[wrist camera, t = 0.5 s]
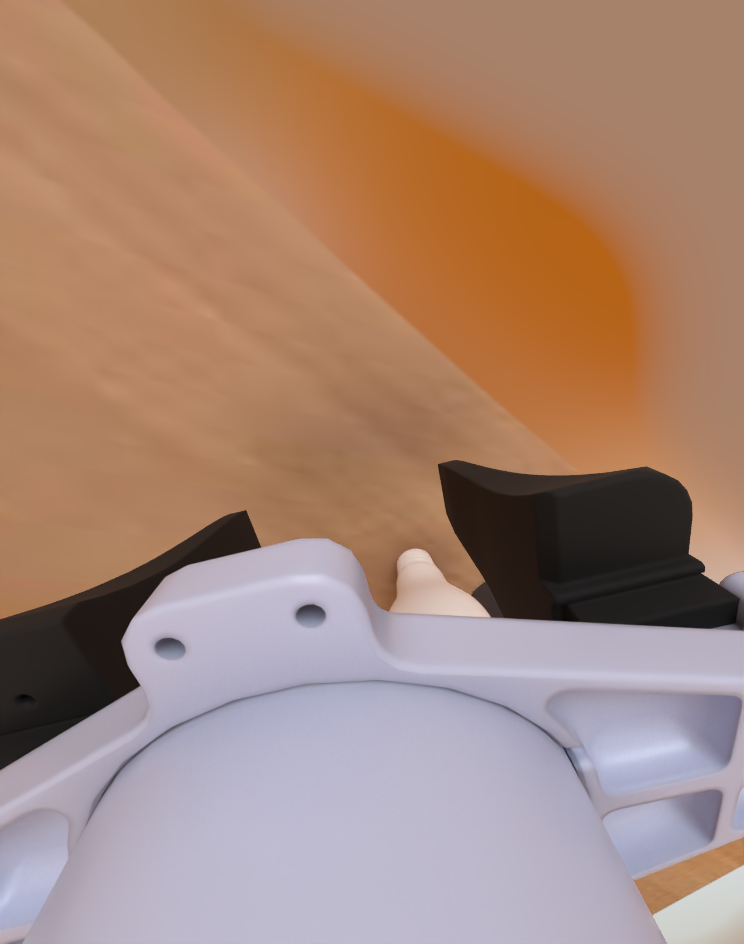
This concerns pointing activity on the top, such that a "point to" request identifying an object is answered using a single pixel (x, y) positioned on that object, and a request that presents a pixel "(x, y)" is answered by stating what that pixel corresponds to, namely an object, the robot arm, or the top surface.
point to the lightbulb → (430, 589)
